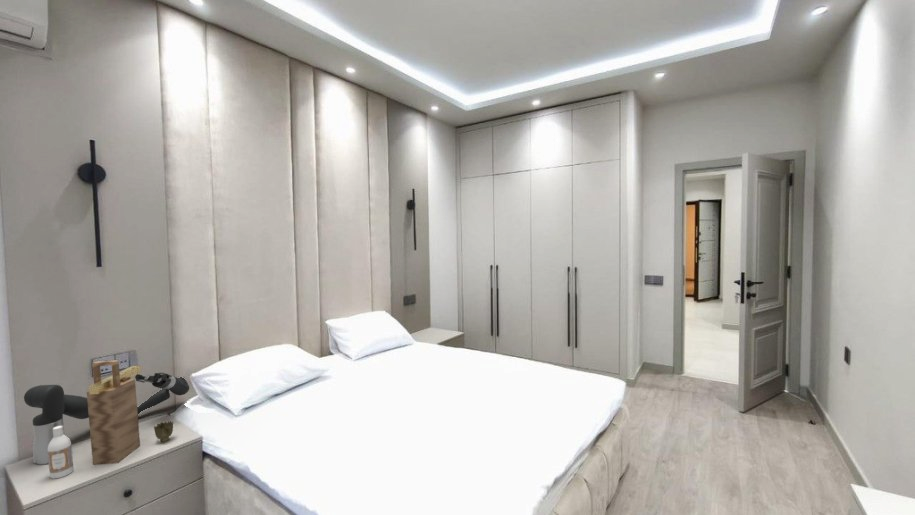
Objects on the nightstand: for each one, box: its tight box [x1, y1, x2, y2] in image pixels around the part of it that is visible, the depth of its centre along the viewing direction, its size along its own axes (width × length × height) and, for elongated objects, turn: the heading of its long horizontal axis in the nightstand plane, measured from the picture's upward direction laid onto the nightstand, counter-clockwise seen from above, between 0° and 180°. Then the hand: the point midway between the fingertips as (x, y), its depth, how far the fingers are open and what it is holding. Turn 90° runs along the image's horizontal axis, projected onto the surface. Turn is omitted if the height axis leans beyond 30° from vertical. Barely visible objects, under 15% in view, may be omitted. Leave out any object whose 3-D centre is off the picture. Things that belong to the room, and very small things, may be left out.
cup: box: [153, 420, 174, 443], centre depth 189 cm, size 8×7×8 cm
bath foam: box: [48, 426, 74, 480], centre depth 163 cm, size 7×7×20 cm
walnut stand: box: [86, 359, 141, 466], centre depth 176 cm, size 10×14×44 cm
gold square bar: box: [88, 365, 141, 394], centre depth 178 cm, size 4×26×4 cm, turn 7°
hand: (145, 375), depth 198 cm, fingers open, 8 cm apart
